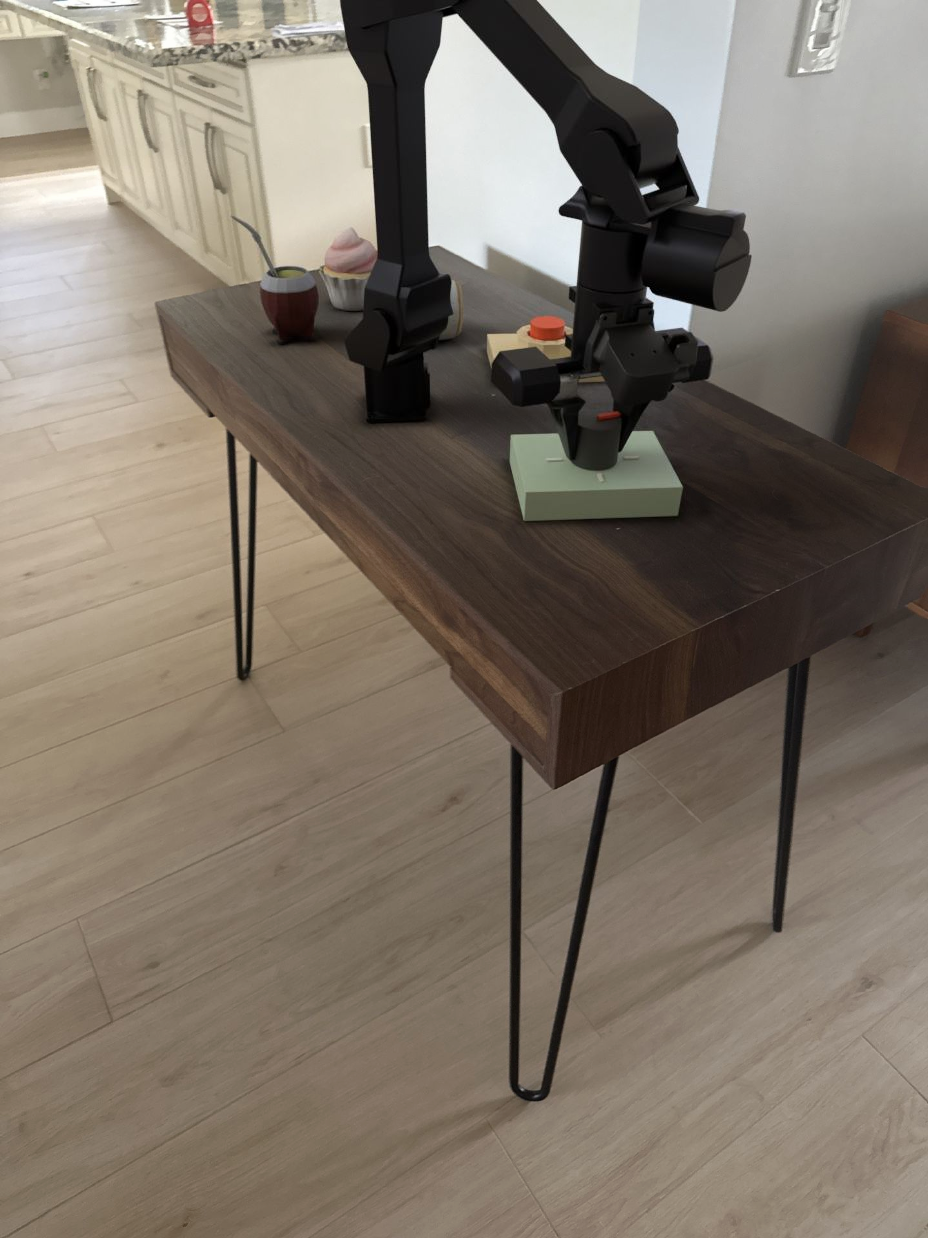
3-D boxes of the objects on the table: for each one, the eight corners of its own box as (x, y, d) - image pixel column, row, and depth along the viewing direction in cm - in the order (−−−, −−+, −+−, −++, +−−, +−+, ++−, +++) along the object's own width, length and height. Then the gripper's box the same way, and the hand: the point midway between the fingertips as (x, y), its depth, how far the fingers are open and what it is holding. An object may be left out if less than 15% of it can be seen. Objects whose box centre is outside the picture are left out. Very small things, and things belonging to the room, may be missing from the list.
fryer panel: (523, 521, 80) (525, 490, 78) (509, 462, 89) (510, 432, 87) (677, 516, 81) (683, 485, 79) (648, 457, 90) (653, 428, 88)
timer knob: (582, 473, 81) (587, 430, 78) (561, 452, 84) (564, 409, 81) (625, 465, 82) (631, 422, 79) (602, 444, 85) (607, 402, 82)
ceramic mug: (465, 346, 112) (465, 283, 107) (400, 350, 111) (397, 287, 106) (450, 318, 120) (450, 258, 116) (389, 322, 119) (386, 261, 114)
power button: (532, 343, 104) (532, 328, 102) (527, 330, 107) (528, 316, 106) (566, 342, 104) (567, 327, 103) (560, 329, 107) (561, 315, 106)
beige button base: (495, 384, 103) (496, 350, 101) (486, 351, 111) (487, 319, 109) (606, 381, 104) (610, 348, 102) (590, 348, 112) (593, 317, 109)
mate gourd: (332, 332, 116) (321, 207, 106) (296, 353, 110) (282, 223, 101) (284, 322, 118) (270, 199, 109) (247, 342, 113) (229, 214, 103)
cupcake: (403, 302, 125) (400, 226, 118) (356, 320, 119) (351, 241, 113) (354, 288, 129) (349, 214, 123) (307, 305, 123) (299, 228, 117)
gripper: (547, 329, 64) (534, 515, 74) (767, 301, 70) (729, 479, 79) (491, 281, 73) (486, 454, 82) (692, 260, 78) (665, 425, 87)
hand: (593, 454), depth 83 cm, fingers closed on timer knob, 4 cm apart
